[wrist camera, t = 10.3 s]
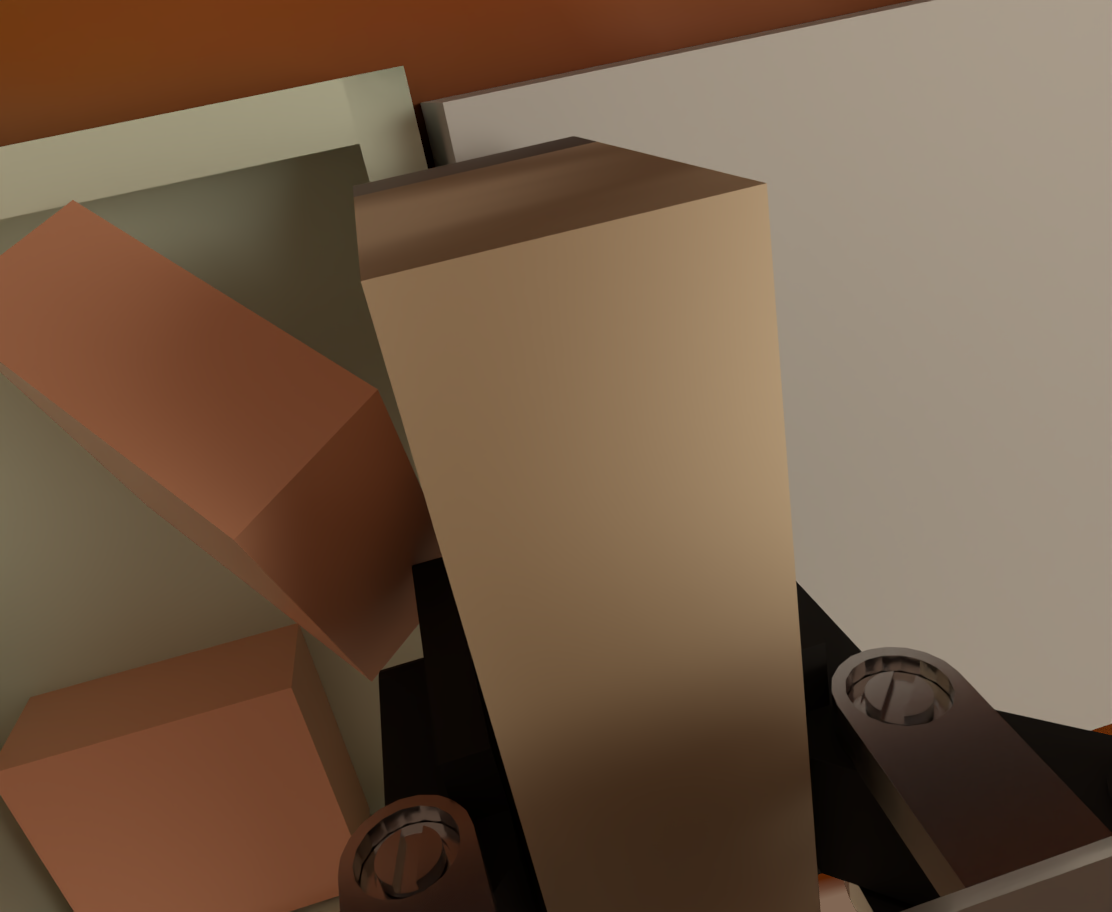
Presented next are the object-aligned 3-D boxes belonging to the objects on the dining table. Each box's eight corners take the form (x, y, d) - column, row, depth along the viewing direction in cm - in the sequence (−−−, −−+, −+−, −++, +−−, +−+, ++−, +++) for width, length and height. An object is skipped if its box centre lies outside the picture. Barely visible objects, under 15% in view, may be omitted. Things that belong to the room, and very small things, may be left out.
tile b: (377, 389, 8) (234, 540, 8) (459, 574, 13) (371, 681, 12) (72, 200, 10) (-70, 308, 9) (236, 419, 15) (147, 506, 14)
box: (393, 73, 14) (402, 65, 11) (561, 762, 20) (594, 867, 17) (-352, 224, 12) (-553, 258, 10) (81, 912, 18) (33, 1050, 16)
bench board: (1437, -109, 16) (1746, -170, 13) (1302, 517, 22) (1487, 598, 18) (420, 102, 14) (442, 103, 10) (571, 743, 20) (619, 887, 16)
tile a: (-13, 774, 14) (30, 697, 16) (109, 968, 16) (134, 881, 18) (291, 687, 14) (298, 622, 16) (370, 885, 17) (369, 808, 18)
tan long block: (574, 135, 10) (766, 183, 5) (698, 876, 15) (841, 1197, 11) (352, 186, 9) (360, 282, 5) (563, 922, 15) (654, 1272, 11)
